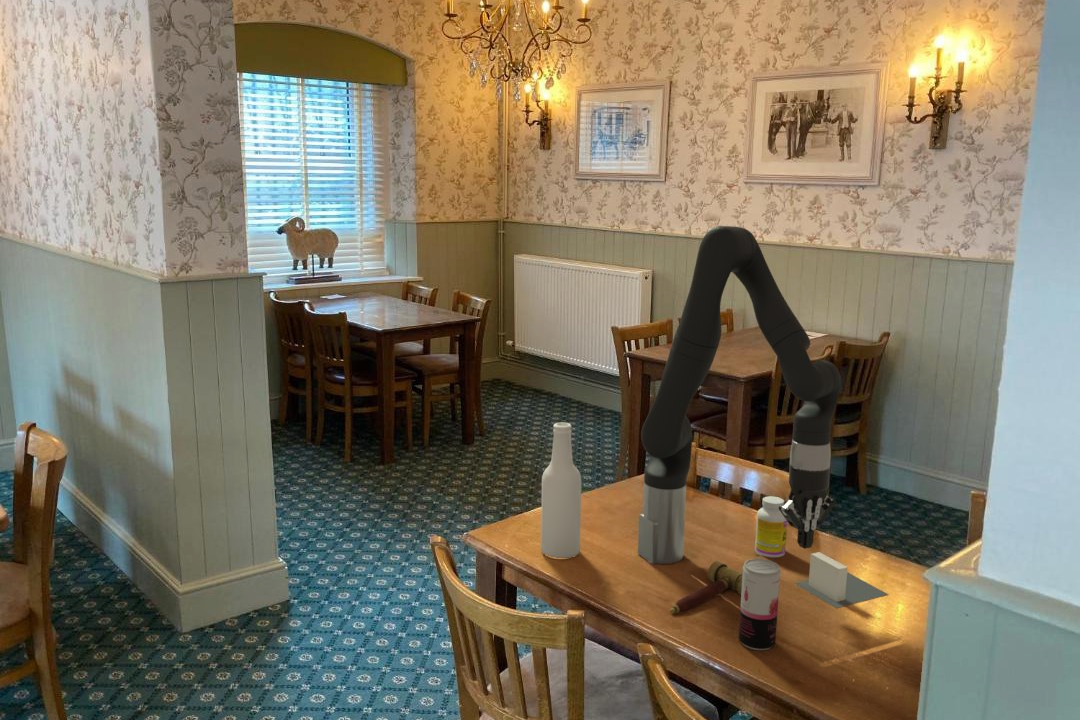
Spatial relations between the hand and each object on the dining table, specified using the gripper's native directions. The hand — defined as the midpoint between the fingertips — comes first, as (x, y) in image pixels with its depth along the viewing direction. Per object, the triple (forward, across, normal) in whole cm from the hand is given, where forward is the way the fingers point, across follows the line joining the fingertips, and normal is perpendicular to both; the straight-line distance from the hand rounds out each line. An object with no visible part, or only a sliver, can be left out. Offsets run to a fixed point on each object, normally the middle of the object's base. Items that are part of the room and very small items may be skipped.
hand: (804, 546), depth 176 cm
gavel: (+12, +17, -9) cm, 23 cm away
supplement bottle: (+12, -10, -21) cm, 26 cm away
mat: (+12, -11, 0) cm, 16 cm away
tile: (+11, -7, 0) cm, 13 cm away
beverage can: (+12, +18, +9) cm, 24 cm away
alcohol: (+11, +33, -41) cm, 54 cm away
